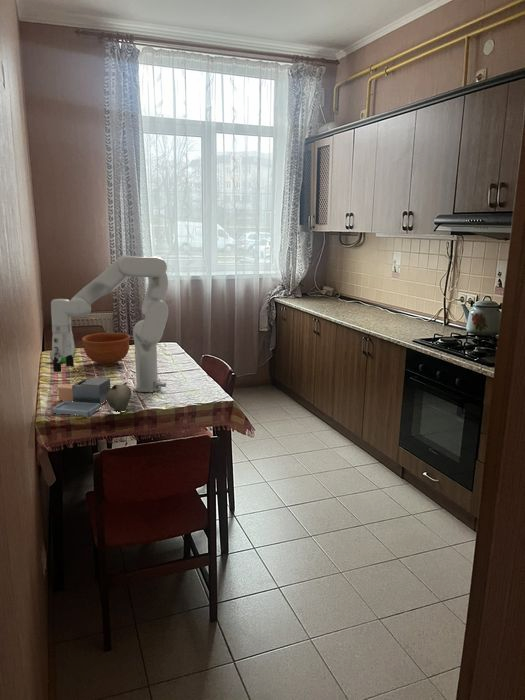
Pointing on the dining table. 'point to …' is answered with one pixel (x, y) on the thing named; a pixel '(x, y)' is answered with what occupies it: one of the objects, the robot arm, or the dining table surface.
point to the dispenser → (91, 390)
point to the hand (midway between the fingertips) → (63, 368)
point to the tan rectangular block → (65, 392)
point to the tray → (76, 408)
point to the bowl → (106, 347)
